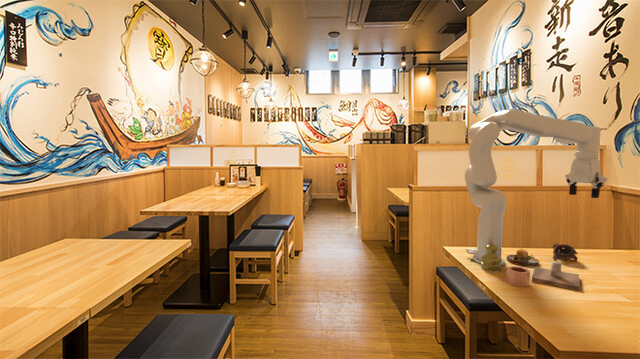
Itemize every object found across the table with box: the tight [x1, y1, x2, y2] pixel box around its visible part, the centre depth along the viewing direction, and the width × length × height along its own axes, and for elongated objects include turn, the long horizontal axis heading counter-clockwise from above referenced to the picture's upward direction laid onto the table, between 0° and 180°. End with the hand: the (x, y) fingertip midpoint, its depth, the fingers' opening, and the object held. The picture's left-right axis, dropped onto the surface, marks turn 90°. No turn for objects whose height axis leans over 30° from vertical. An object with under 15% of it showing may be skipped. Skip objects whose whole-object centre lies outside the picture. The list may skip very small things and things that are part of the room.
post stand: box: [531, 261, 581, 292], centre depth 125 cm, size 14×14×6 cm
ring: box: [506, 265, 531, 288], centre depth 121 cm, size 7×7×5 cm
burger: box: [506, 248, 540, 267], centre depth 145 cm, size 12×12×8 cm
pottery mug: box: [552, 243, 579, 262], centre depth 148 cm, size 12×10×8 cm
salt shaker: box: [480, 244, 502, 272], centre depth 136 cm, size 7×7×10 cm
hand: (583, 196), depth 143 cm, fingers open, 9 cm apart
